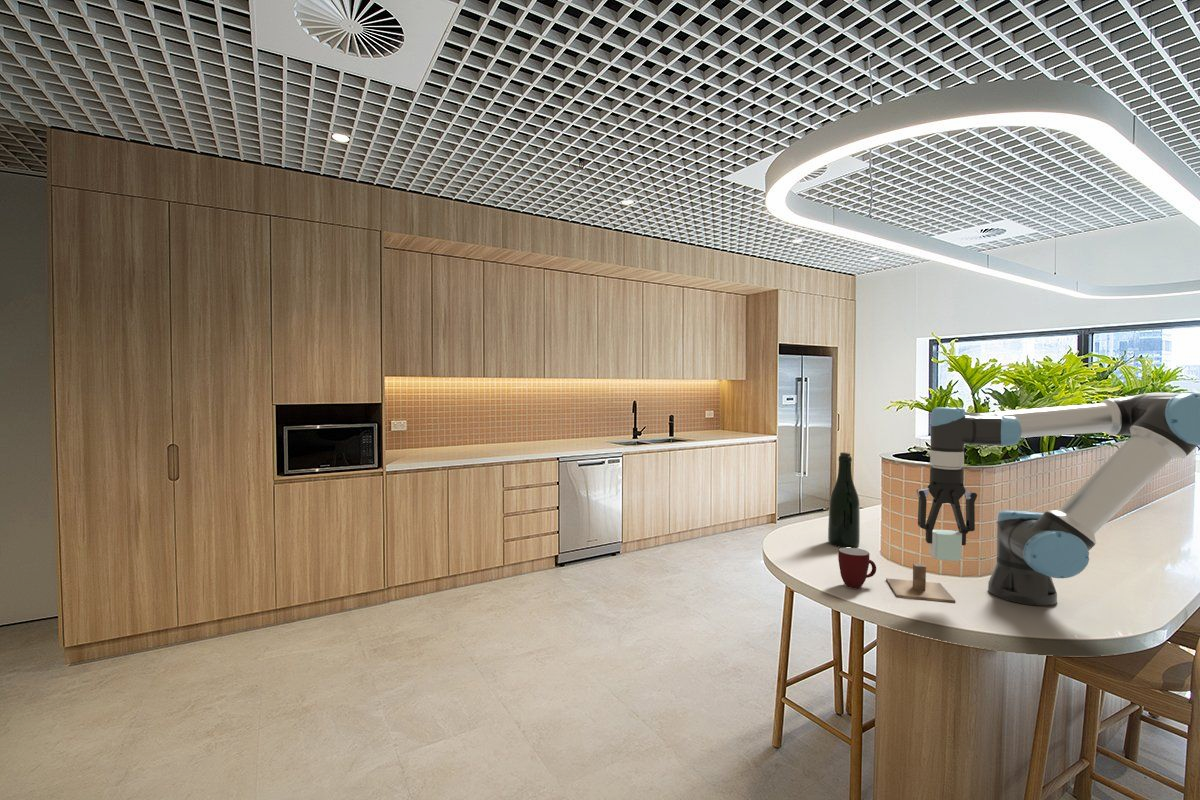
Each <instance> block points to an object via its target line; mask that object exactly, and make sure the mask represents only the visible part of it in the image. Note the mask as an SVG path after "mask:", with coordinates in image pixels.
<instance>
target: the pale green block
mask: <svg viewBox="0 0 1200 800" xmlns="http://www.w3.org/2000/svg"><path fill="white" fill-rule="evenodd" d="M933 530H934V531H935V532H936V557H934V558H935V559H936V560H938V561H951V562H961V559H960V543H961V535H959V534H958V533H956V532H955V531H956V530H951V529H950V530H949V529H933Z"/></svg>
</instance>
